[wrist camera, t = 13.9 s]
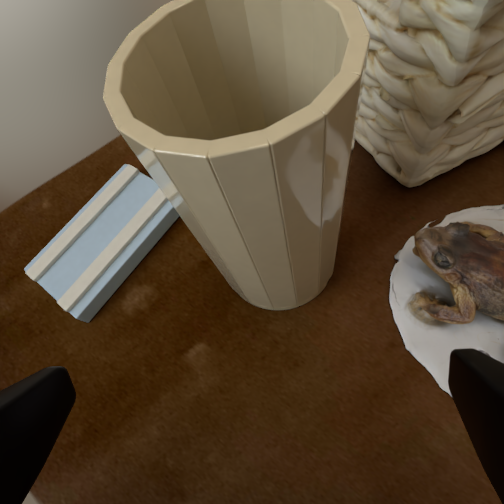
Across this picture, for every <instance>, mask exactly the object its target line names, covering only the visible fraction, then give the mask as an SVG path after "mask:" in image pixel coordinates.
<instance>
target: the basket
mask: <svg viewBox="0 0 504 504" xmlns="http://www.w3.org/2000/svg"><path fill="white" fill-rule="evenodd" d="M353 1H354V2H355V3H356V4H357V5H358V8H359V10H360V12H361V15H362V17H363V19H364V22H365V24H366V26H367V29H368V31H369V33H370V45H369V51H368V57H367V64H366V70H365V77H364V83H363V90H362V96H361V103H360V109H359V115H358V122H357V128H356V135H355V139H356V140H357V142H358V143H359V144H360V145H361V146H362V147H363V148H365V149H366V150H367V151H368V152H369V153H370V154H372V155H373V157H374V158H375V161H376V162H377V163H378V165H379V166H380V167H381V168H382V169H383V170H385V171H386V172H387V173H389V174H390V175H391V176H393V177H394V178H395V179H396V180H397V181H398V182H399V183H401V184H403V185H404V186H406V187H414V186H419V185H421V184H423V183H424V182H426V181H428V180H430V179H432V178H434V177H436V176H437V175H439V174H442V173H445V172H447V171H449V170H451V169H453V168H454V167H456V166H459V165H460V164H462V163H463V162H464V161H466V160H467V159H470V158H473V157H476V156H479V155H481V154H484V153H486V152H488V151H490V150H491V149H493V148H494V147H495V146H497V145H498V144H500V143H501V142H502V141H503V140H504V0H353Z"/></svg>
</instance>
